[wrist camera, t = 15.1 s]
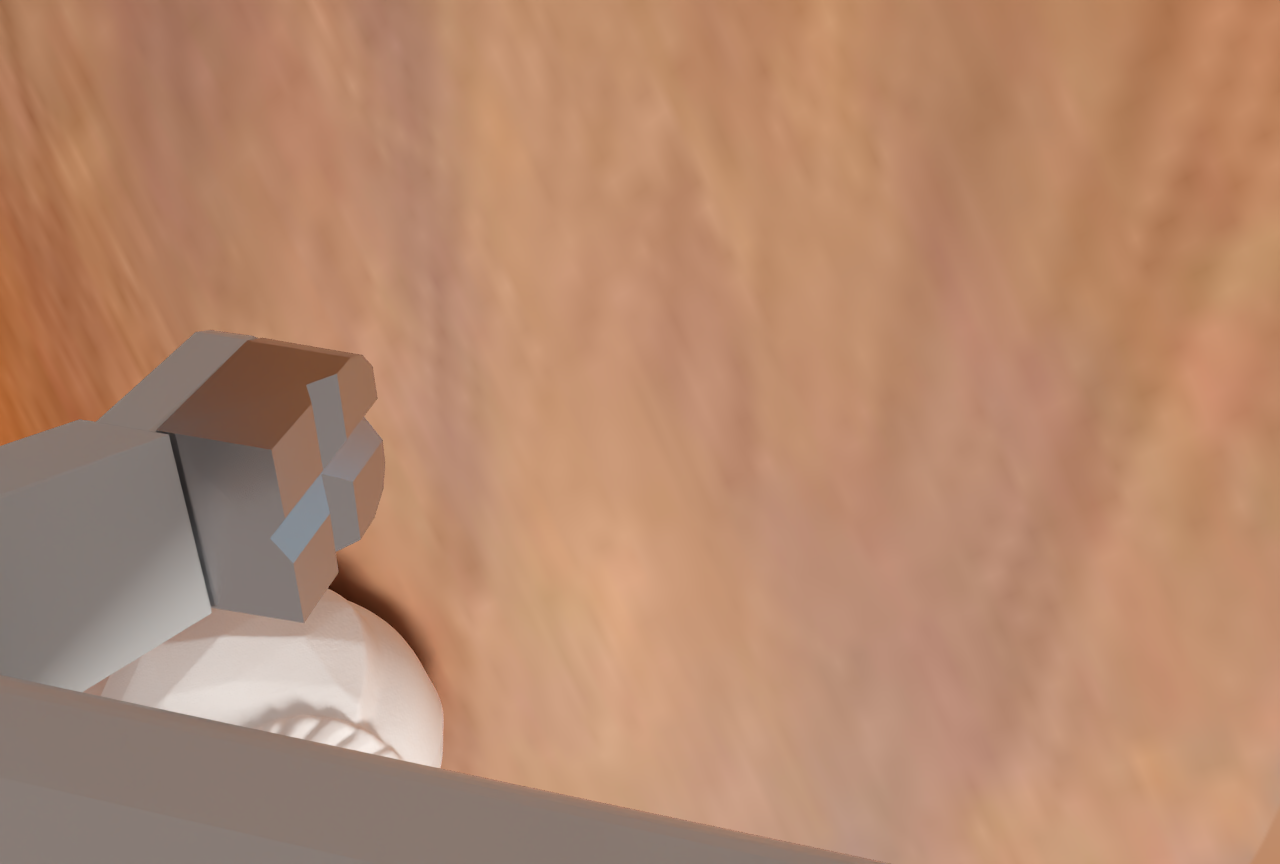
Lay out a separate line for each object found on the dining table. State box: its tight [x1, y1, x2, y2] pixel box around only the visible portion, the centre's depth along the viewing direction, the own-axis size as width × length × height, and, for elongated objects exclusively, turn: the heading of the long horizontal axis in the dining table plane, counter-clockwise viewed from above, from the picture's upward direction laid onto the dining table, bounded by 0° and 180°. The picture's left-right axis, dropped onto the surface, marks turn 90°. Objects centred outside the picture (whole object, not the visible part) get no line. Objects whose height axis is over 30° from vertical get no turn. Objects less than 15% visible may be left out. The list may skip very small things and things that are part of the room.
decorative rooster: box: [83, 589, 444, 768], centre depth 61 cm, size 25×16×25 cm, turn 82°
